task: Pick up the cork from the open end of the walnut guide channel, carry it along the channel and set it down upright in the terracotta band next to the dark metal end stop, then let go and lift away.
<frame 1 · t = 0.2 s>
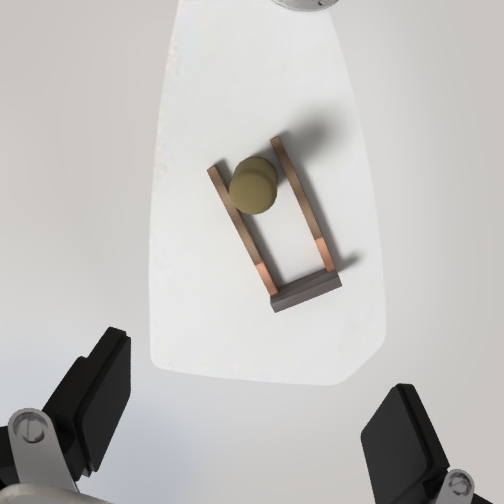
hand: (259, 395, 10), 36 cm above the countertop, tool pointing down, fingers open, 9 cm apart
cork: (255, 178, 43), on the countertop
guide channel: (276, 223, 45), on the countertop
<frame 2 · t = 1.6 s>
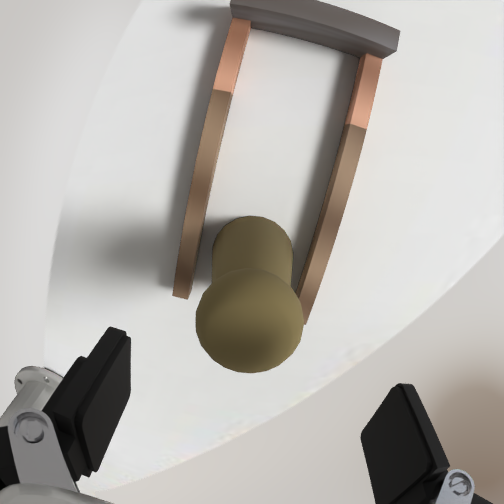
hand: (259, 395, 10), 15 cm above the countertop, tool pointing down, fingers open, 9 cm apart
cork: (252, 254, 24), on the countertop
guide channel: (275, 163, 22), on the countertop
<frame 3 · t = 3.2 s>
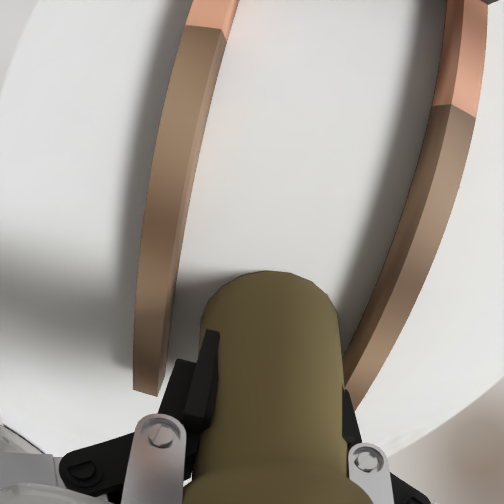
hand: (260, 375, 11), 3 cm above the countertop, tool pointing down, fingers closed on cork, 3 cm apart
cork: (269, 331, 14), on the countertop, touching gripper
guide channel: (310, 171, 11), on the countertop
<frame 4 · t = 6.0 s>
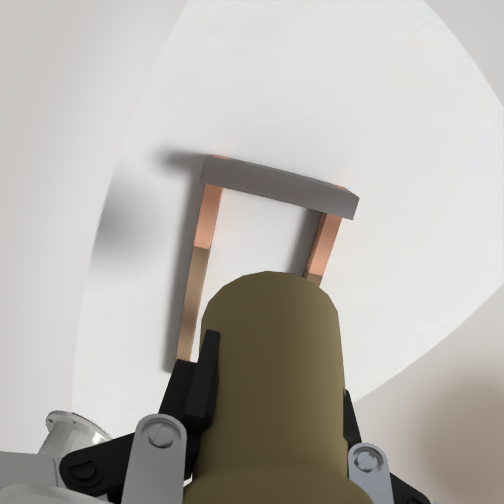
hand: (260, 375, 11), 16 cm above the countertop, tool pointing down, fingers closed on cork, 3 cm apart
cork: (270, 332, 14), point 13 cm above the countertop, touching gripper
guide channel: (248, 296, 28), on the countertop
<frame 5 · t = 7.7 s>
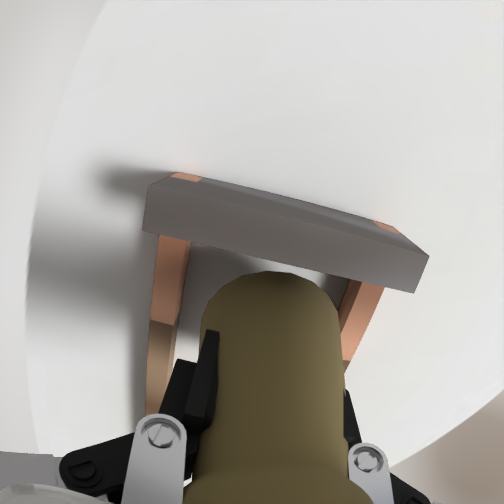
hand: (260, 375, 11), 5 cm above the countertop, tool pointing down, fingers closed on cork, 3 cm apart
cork: (270, 332, 14), point 3 cm above the countertop, touching gripper
guide channel: (238, 380, 18), on the countertop
when the fingers open (4 cm above the countertop, at t = 8.8 s): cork moves 1 cm, on the countertop.
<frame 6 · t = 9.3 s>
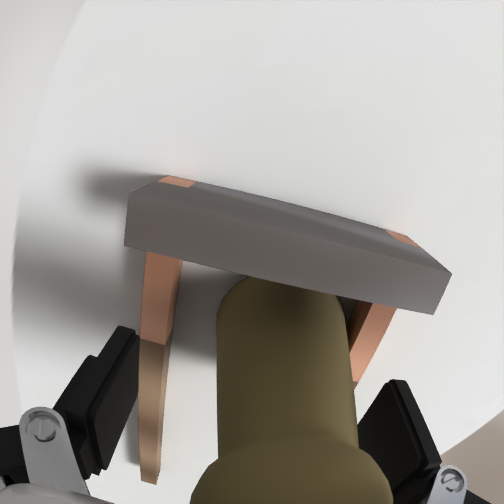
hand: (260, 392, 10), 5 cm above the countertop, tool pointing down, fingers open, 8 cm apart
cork: (280, 325, 15), on the countertop
guide channel: (237, 399, 16), on the countertop
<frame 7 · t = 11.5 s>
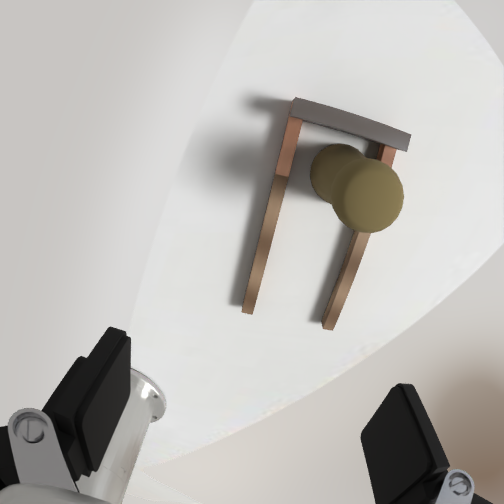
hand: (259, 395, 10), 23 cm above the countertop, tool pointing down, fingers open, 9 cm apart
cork: (340, 174, 30), on the countertop
guide channel: (316, 223, 31), on the countertop
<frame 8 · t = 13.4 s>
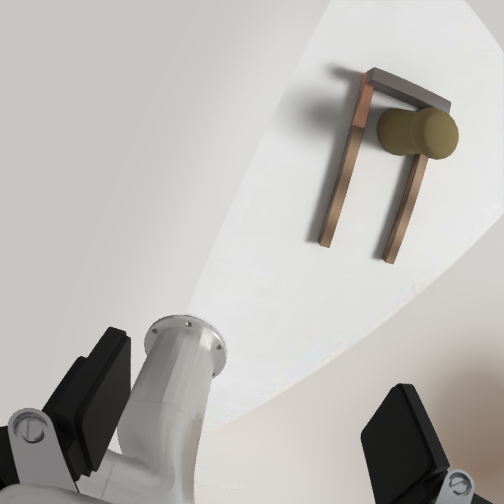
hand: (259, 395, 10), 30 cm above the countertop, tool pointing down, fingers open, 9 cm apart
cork: (398, 131, 35), on the countertop
guide channel: (381, 169, 36), on the countertop
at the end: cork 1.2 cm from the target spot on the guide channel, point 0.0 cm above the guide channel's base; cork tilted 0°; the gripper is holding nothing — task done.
